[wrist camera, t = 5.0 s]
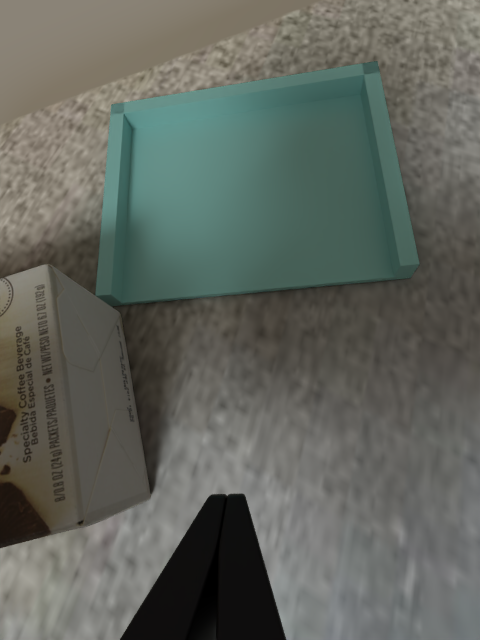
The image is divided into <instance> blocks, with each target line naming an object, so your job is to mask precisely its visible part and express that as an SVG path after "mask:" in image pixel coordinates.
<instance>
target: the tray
mask: <svg viewBox="0 0 480 640" xmlns="http://www.w3.org/2000/svg"><path fill="white" fill-rule="evenodd" d="M419 264H420V263H419V259H418V254H417V249H416V244H415V239H414V235H413V230H412V225H411V220H410V215H409V211H408V206H407V201H406V196H405V191H404V187H403V182H402V177H401V172H400V167H399V163H398V158H397V153H396V148H395V143H394V139H393V134H392V129H391V124H390V119H389V115H388V110H387V105H386V100H385V95H384V90H383V86H382V81H381V76H380V71H379V66H378V62H377V61H374V62H368V63H362V64H356V65H350V66H343V67H337V68H331V69H325V70H319V71H313V72H307V73H301V74H295V75H289V76H283V77H276V78H270V79H264V80H258V81H252V82H246V83H240V84H234V85H228V86H222V87H215V88H209V89H203V90H197V91H191V92H185V93H179V94H173V95H167V96H161V97H155V98H148V99H142V100H136V101H130V102H124V103H118V104H112V105H111V114H110V126H109V138H108V150H107V162H106V174H105V186H104V198H103V210H102V222H101V234H100V246H99V258H98V269H97V281H96V293H95V296H96V297H98V298H99V299H101V300H102V301H104V302H105V303H107V304H108V305H110V306H119V305H129V304H140V303H150V302H161V301H172V300H182V299H193V298H204V297H214V296H225V295H236V294H246V293H257V292H268V291H278V290H289V289H300V288H310V287H321V286H332V285H342V284H353V283H364V282H374V281H385V280H396V279H406V278H411V276H412V275H413V273H414V272H415V270H416V269H417V267H418V266H419Z"/></svg>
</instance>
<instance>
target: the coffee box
mask: <svg viewBox="0 0 480 640" xmlns="http://www.w3.org/2000/svg"><path fill="white" fill-rule="evenodd" d="M150 497H151V494H150V488H149V482H148V476H147V469H146V463H145V457H144V451H143V445H142V439H141V433H140V427H139V421H138V416H137V410H136V404H135V398H134V391H133V385H132V379H131V372H130V366H129V360H128V354H127V348H126V342H125V336H124V329H123V323H122V317H121V315H120V313H119V312H118V311H117V310H115V309H114V308H112V307H111V306H110V305H108V304H107V303H105V302H104V301H102V300H101V299H99V298H98V297H96V296H95V295H94V294H92V293H91V292H89V291H88V290H86V289H85V288H83V287H82V286H80V285H79V284H78V283H76V282H75V281H73V280H72V279H70V278H69V277H68V276H66V275H65V274H63V273H62V272H60V271H59V270H58V269H56V268H55V267H53V266H52V265H50V264H44V265H40V266H37V267H34V268H31V269H28V270H25V271H22V272H19V273H16V274H12V275H9V276H6V277H3V278H0V548H3V547H7V546H10V545H14V544H18V543H22V542H26V541H30V540H33V539H37V538H41V537H45V536H49V535H53V534H57V533H61V532H65V531H69V530H73V529H78V528H84V527H87V526H90V525H92V524H95V523H98V522H100V521H103V520H105V519H108V518H110V517H112V516H114V515H117V514H119V513H121V512H123V511H126V510H128V509H130V508H133V507H135V506H137V505H139V504H141V503H144V502H146V501H148V500H149V499H150Z"/></svg>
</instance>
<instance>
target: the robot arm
mask: <svg viewBox="0 0 480 640" xmlns="http://www.w3.org/2000/svg"><path fill="white" fill-rule="evenodd" d="M120 640H286V637H285V634H284V630H283V627H282V623H281V620H280V616H279V613H278V609H277V606H276V602H275V599H274V595H273V591H272V588H271V584H270V581H269V577H268V574H267V570H266V567H265V563H264V560H263V556H262V553H261V549H260V546H259V542H258V539H257V535H256V532H255V528H254V525H253V521H252V518H251V514H250V511H249V507H248V504H247V500H246V497H245V495H244V494H229V495H228V496H227V495H226V494H212V495H210V496H209V497H208V499H207V500H206V502H205V503H204V505H203V507H202V508H201V510H200V511H199V513H198V515H197V516H196V518H195V519H194V521H193V523H192V524H191V526H190V527H189V529H188V531H187V532H186V534H185V536H184V537H183V539H182V540H181V542H180V544H179V545H178V547H177V548H176V550H175V552H174V553H173V555H172V556H171V558H170V560H169V561H168V563H167V564H166V566H165V568H164V569H163V571H162V573H161V574H160V576H159V577H158V579H157V581H156V582H155V584H154V585H153V587H152V589H151V590H150V592H149V593H148V595H147V597H146V598H145V600H144V602H143V603H142V605H141V606H140V608H139V610H138V611H137V613H136V614H135V616H134V618H133V619H132V621H131V622H130V624H129V626H128V627H127V629H126V631H125V632H124V634H123V635H122V637H121V639H120Z"/></svg>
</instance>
